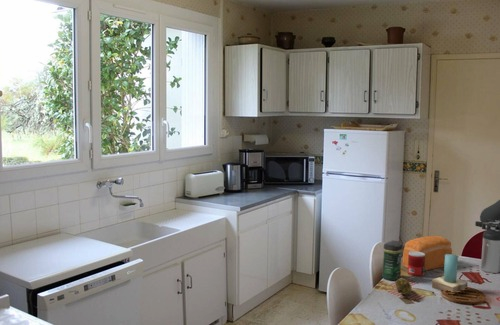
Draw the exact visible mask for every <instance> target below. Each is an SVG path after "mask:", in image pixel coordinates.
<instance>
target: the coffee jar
mask: <svg viewBox="0 0 500 325" xmlns="http://www.w3.org/2000/svg"><path fill="white" fill-rule="evenodd" d="M402 251H403V244H402V243H401V241H398V240H393V239H392V240H391V241H387V242H385V243H384V244H383V260H382V261H383V262H382V270H381V271H382V272H381V274H382V275H381V278H383V279H385V280H387V281H397V280H398V279H400V278H401V273H402V272H401V270H402V268H401V264H402Z"/></svg>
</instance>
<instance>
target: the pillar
mask: <svg viewBox="0 0 500 325" xmlns="http://www.w3.org/2000/svg"><path fill="white" fill-rule="evenodd" d="M458 258H459V256H458V255H456V254H446V255H445V265H444V269H443V276H444V281H445V282H449V283H455V282H456V278H457V276H458V273H457V272H458V260H459V259H458ZM457 279H458V278H457Z"/></svg>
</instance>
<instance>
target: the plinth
mask: <svg viewBox="0 0 500 325" xmlns="http://www.w3.org/2000/svg"><path fill="white" fill-rule="evenodd" d="M431 282H432V284H431V288H432V289H435V290H437V291H440V292H442V291H441V290H448V291H451V292H456V291H460V290H463V289H465V288H467V289H468V281H465V280H462V279H460V278H456V282H455V283H449V282H445V281H444V275H442V276H440V277H436V278H433V279H432V281H431Z"/></svg>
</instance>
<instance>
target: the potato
mask: <svg viewBox="0 0 500 325" xmlns="http://www.w3.org/2000/svg"><path fill="white" fill-rule="evenodd" d="M394 286H395V288H396V290H397V293H399V294H401V295H407V296H408V295H410V294H411V293H412V290H413V289H412V284H411V283H410V281H409V280H407V279H405V278H401V277H400V278H399V279H397V280H395V282H394Z"/></svg>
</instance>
